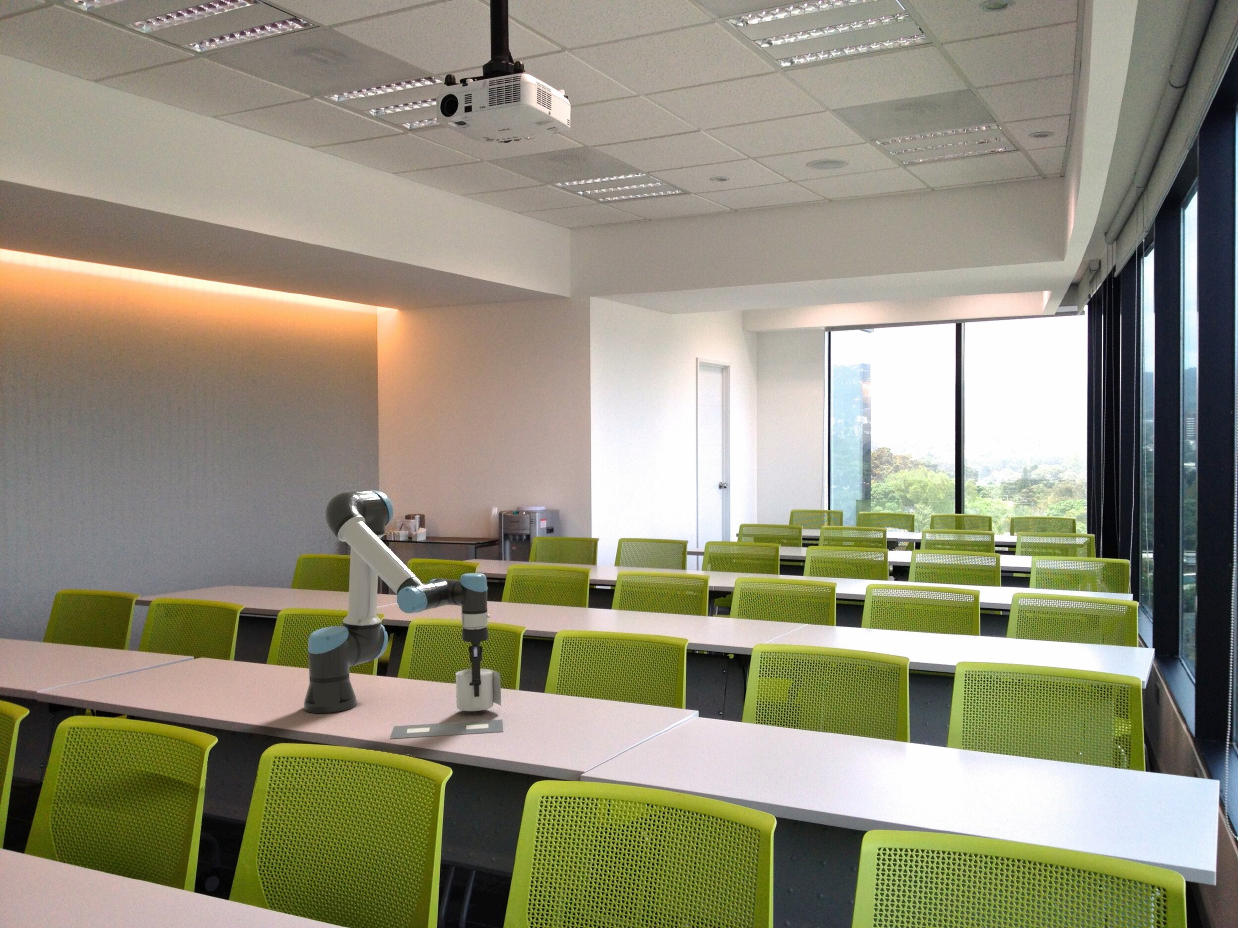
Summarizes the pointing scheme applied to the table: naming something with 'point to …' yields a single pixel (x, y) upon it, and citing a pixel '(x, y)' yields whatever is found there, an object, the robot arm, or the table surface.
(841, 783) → the table surface
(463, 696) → the toilet tissue
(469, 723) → the label mat
